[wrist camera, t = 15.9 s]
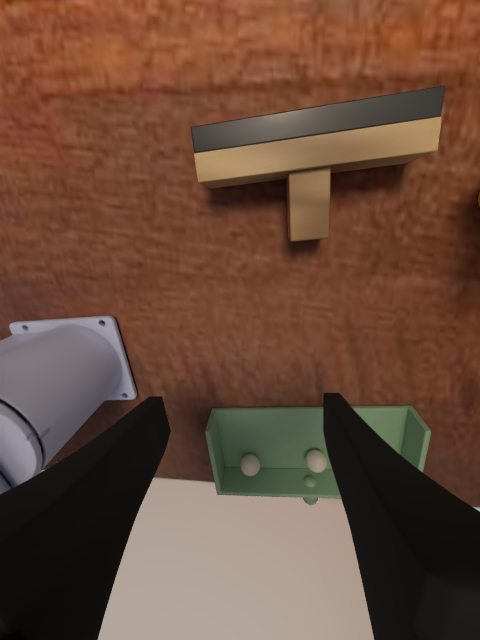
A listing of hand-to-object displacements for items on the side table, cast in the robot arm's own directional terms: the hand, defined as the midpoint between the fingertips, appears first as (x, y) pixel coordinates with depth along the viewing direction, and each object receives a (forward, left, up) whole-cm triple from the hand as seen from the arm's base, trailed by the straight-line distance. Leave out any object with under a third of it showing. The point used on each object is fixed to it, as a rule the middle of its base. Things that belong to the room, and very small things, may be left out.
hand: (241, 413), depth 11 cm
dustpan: (+4, -12, -9) cm, 16 cm away
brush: (+4, +13, -8) cm, 15 cm away
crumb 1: (-1, -13, -8) cm, 15 cm away
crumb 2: (+5, -12, -8) cm, 16 cm away
